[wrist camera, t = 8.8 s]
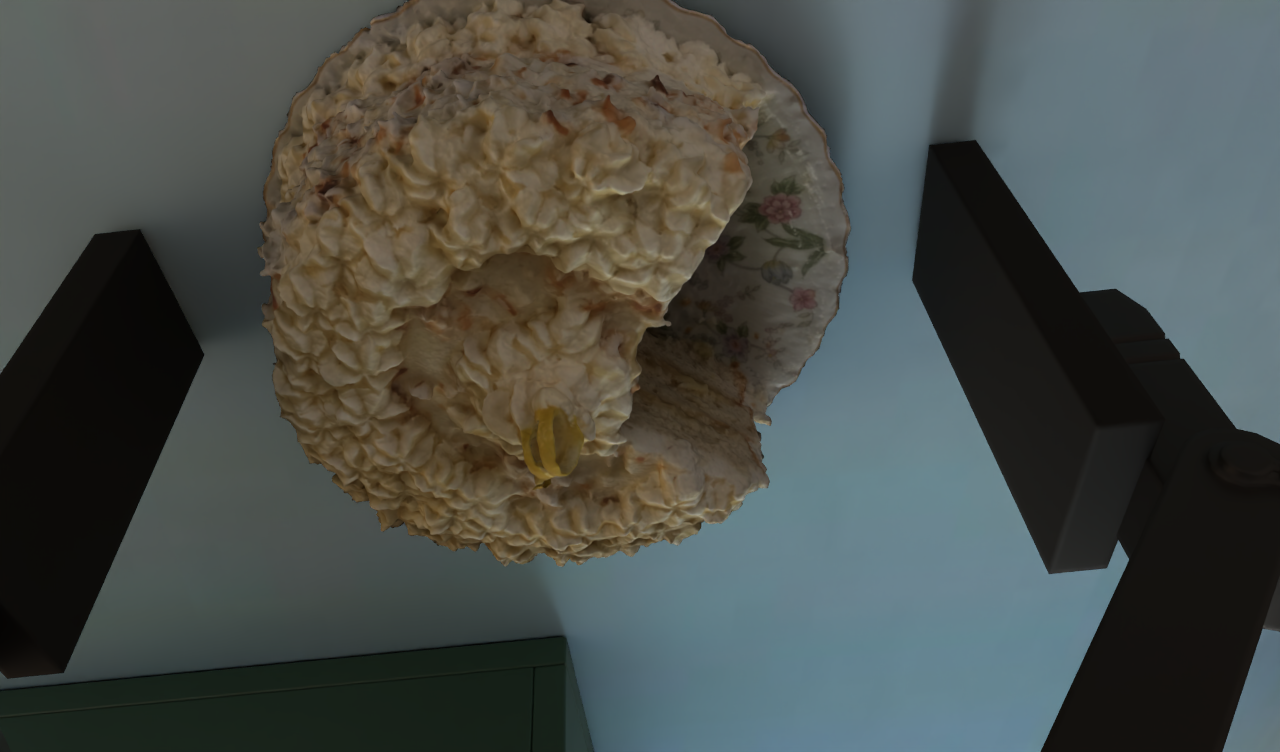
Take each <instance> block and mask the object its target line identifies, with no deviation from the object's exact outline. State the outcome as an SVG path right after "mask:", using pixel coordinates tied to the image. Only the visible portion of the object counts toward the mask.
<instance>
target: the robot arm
mask: <svg viewBox="0 0 1280 752" xmlns="http://www.w3.org/2000/svg"><path fill="white" fill-rule="evenodd" d="M912 281H913V283H914V285H915V287H916V290H917V292H918V294H919V296H920V298H921V300H922V303H923V305H924V307H925V309H926V311H927V313H928V315H929V318H930V320H931V322H932V324H933V326H934V328H935V330H936V333H937V335H938V337H939V339H940V341H941V343H942V345H943V348H944V350H945V352H946V354H947V356H948V358H949V360H950V363H951V365H952V367H953V369H954V371H955V373H956V376H957V378H958V380H959V382H960V384H961V386H962V388H963V391H964V393H965V395H966V397H967V399H968V401H969V403H970V406H971V408H972V410H973V412H974V414H975V416H976V418H977V421H978V423H979V425H980V427H981V429H982V431H983V433H984V436H985V438H986V440H987V442H988V444H989V446H990V449H991V451H992V453H993V455H994V457H995V459H996V461H997V464H998V466H999V468H1000V470H1001V472H1002V474H1003V476H1004V479H1005V481H1006V483H1007V485H1008V487H1009V489H1010V491H1011V494H1012V496H1013V498H1014V500H1015V502H1016V504H1017V506H1018V509H1019V511H1020V513H1021V515H1022V517H1023V519H1024V521H1025V524H1026V526H1027V528H1028V530H1029V532H1030V534H1031V537H1032V539H1033V541H1034V543H1035V545H1036V547H1037V549H1038V552H1039V554H1040V556H1041V558H1042V560H1043V562H1044V564H1045V567H1046V569H1047V571H1048V573H1049V574H1053V573H1063V572H1073V571H1083V570H1093V569H1103V568H1107V567H1108V564H1109V562H1110V559H1111V556H1112V554H1113V551H1114V549H1115V546H1116V544H1117V541H1118V540H1119V541H1120V543H1121V545H1122V547H1123V549H1124V551H1125V552H1126V554H1127V556H1128V558H1129V562H1128V564H1127V566H1126V568H1125V570H1124V572H1123V575H1122V577H1121V579H1120V581H1119V583H1118V585H1117V588H1116V590H1115V592H1114V594H1113V596H1112V598H1111V601H1110V603H1109V605H1108V607H1107V609H1106V611H1105V614H1104V616H1103V618H1102V620H1101V622H1100V624H1099V627H1098V629H1097V631H1096V633H1095V635H1094V637H1093V640H1092V642H1091V644H1090V646H1089V648H1088V650H1087V653H1086V655H1085V657H1084V659H1083V661H1082V663H1081V666H1080V668H1079V670H1078V672H1077V674H1076V676H1075V678H1074V681H1073V683H1072V685H1071V687H1070V689H1069V691H1068V694H1067V696H1066V698H1065V700H1064V702H1063V704H1062V707H1061V709H1060V711H1059V713H1058V715H1057V717H1056V720H1055V722H1054V724H1053V726H1052V728H1051V730H1050V733H1049V735H1048V737H1047V739H1046V741H1045V743H1044V746H1043V748H1042V750H1041V752H1222V751H1223V748H1224V745H1225V742H1226V739H1227V736H1228V733H1229V729H1230V726H1231V723H1232V720H1233V717H1234V714H1235V711H1236V708H1237V705H1238V702H1239V699H1240V696H1241V693H1242V690H1243V687H1244V684H1245V680H1246V677H1247V674H1248V671H1249V668H1250V665H1251V662H1252V659H1253V656H1254V653H1255V650H1256V647H1257V644H1258V641H1259V638H1260V635H1261V631H1262V628H1263V629H1268V630H1274V631H1280V444H1278V443H1276V442H1274V441H1272V440H1270V439H1267V438H1265V437H1263V436H1261V435H1259V434H1257V433H1253V432H1248V431H1244V430H1239V429H1236V427H1235V426H1234V425H1233V423H1232V422H1231V421H1230V419H1229V418H1228V417H1227V416H1226V414H1225V413H1224V412H1223V410H1222V409H1221V408H1220V406H1219V405H1218V404H1217V402H1216V401H1215V400H1214V398H1213V397H1212V396H1211V394H1210V393H1209V392H1208V390H1207V389H1206V388H1205V386H1204V385H1203V384H1202V382H1201V381H1200V380H1199V378H1198V377H1197V376H1196V374H1195V373H1194V372H1193V370H1192V369H1191V368H1190V366H1189V365H1188V364H1187V362H1186V361H1185V360H1184V359H1180V353H1179V352H1178V350H1177V349H1176V348H1175V346H1174V345H1173V344H1172V342H1171V341H1170V340H1169V339H1165V333H1164V332H1163V330H1162V329H1161V328H1160V326H1159V325H1158V324H1157V322H1156V321H1155V320H1154V318H1153V317H1152V316H1151V314H1150V313H1149V312H1148V310H1147V309H1146V308H1144V307H1143V306H1141V305H1139V304H1138V303H1136V302H1135V301H1133V300H1132V299H1130V298H1129V297H1127V296H1126V295H1124V294H1123V293H1121V292H1120V291H1118V290H1117V289H1109V290H1099V291H1090V292H1080V293H1079V291H1078V290H1077V288H1076V287H1075V285H1074V284H1073V283H1072V281H1071V280H1070V278H1069V277H1068V275H1067V274H1066V272H1065V271H1064V269H1063V268H1062V266H1061V265H1060V263H1059V262H1058V260H1057V259H1056V258H1055V256H1054V255H1053V253H1052V252H1051V250H1050V249H1049V247H1048V246H1047V244H1046V243H1045V241H1044V240H1043V238H1042V237H1041V235H1040V234H1039V233H1038V231H1037V230H1036V228H1035V227H1034V225H1033V224H1032V222H1031V221H1030V219H1029V218H1028V216H1027V215H1026V213H1025V212H1024V210H1023V209H1022V208H1021V206H1020V205H1019V203H1018V202H1017V200H1016V199H1015V197H1014V196H1013V194H1012V193H1011V191H1010V190H1009V188H1008V187H1007V185H1006V184H1005V183H1004V181H1003V180H1002V178H1001V177H1000V175H999V174H998V172H997V171H996V169H995V168H994V166H993V165H992V163H991V162H990V160H989V159H988V158H987V156H986V155H985V153H984V152H983V150H982V149H981V147H980V146H979V144H978V143H977V141H976V140H974V141H964V142H955V143H945V144H936V145H929V153H928V161H927V168H926V176H925V184H924V192H923V200H922V207H921V215H920V223H919V231H918V239H917V247H916V254H915V262H914V270H913V278H912ZM203 357H204V353H203V351H202V349H201V347H200V345H199V343H198V341H197V339H196V337H195V335H194V333H193V331H192V329H191V327H190V325H189V323H188V321H187V320H186V318H185V316H184V314H183V312H182V310H181V308H180V306H179V304H178V302H177V300H176V298H175V296H174V294H173V292H172V290H171V288H170V286H169V284H168V283H167V281H166V279H165V277H164V275H163V273H162V271H161V269H160V267H159V265H158V263H157V261H156V259H155V257H154V255H153V253H152V251H151V249H150V247H149V246H148V244H147V242H146V240H145V238H144V236H143V234H142V232H141V230H140V229H139V230H130V231H120V232H111V233H101V234H95V235H94V236H93V238H92V239H91V241H90V242H89V244H88V245H87V247H86V248H85V250H84V251H83V253H82V254H81V256H80V257H79V259H78V260H77V262H76V263H75V264H74V266H73V267H72V269H71V270H70V272H69V273H68V275H67V276H66V278H65V279H64V281H63V282H62V284H61V285H60V287H59V288H58V290H57V291H56V293H55V294H54V296H53V297H52V299H51V300H50V301H49V303H48V304H47V306H46V307H45V309H44V310H43V312H42V313H41V315H40V316H39V318H38V319H37V321H36V322H35V324H34V325H33V327H32V328H31V330H30V331H29V333H28V334H27V336H26V337H25V338H24V340H23V341H22V343H21V344H20V346H19V347H18V349H17V350H16V352H15V353H14V355H13V356H12V358H11V359H10V361H9V362H8V364H7V365H6V367H5V368H4V370H3V371H2V372H1V374H0V672H1V673H2V674H3V675H4V676H5V677H6V678H7V679H9V678H19V677H29V676H38V675H48V674H58V673H64V671H65V669H66V667H67V664H68V662H69V660H70V658H71V655H72V653H73V651H74V649H75V646H76V644H77V642H78V639H79V637H80V635H81V633H82V630H83V628H84V626H85V624H86V621H87V619H88V617H89V615H90V612H91V610H92V608H93V606H94V603H95V601H96V599H97V596H98V594H99V592H100V590H101V587H102V585H103V583H104V581H105V578H106V576H107V574H108V572H109V569H110V567H111V565H112V563H113V560H114V558H115V556H116V554H117V551H118V549H119V547H120V544H121V542H122V540H123V538H124V535H125V533H126V531H127V529H128V526H129V524H130V522H131V520H132V517H133V515H134V513H135V511H136V508H137V506H138V504H139V502H140V499H141V497H142V495H143V492H144V490H145V488H146V486H147V483H148V481H149V479H150V477H151V474H152V472H153V470H154V468H155V465H156V463H157V461H158V459H159V456H160V454H161V452H162V449H163V447H164V445H165V443H166V440H167V438H168V436H169V434H170V431H171V429H172V427H173V425H174V422H175V420H176V418H177V416H178V413H179V411H180V409H181V407H182V404H183V402H184V400H185V397H186V395H187V393H188V391H189V388H190V386H191V384H192V382H193V379H194V377H195V375H196V373H197V370H198V368H199V366H200V364H201V361H202V359H203ZM0 752H11V750H10V748H9V746H8V744H7V742H6V740H5V737H4V735H3V733H2V731H1V729H0Z"/></svg>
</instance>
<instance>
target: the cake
mask: <svg viewBox="0 0 1280 752" xmlns="http://www.w3.org/2000/svg"><path fill="white" fill-rule="evenodd" d="M370 24H371V29H368V28H366V27H365V28H363V29H362V28H361V30H360V31H359V32H358V33H356V34H355V37H354V38H352V41H349V42H348V44H347V46H346V47H345V45H344V46H342V48H341V50H340V52H339V54H338V53H336V52H334V53H333V54H331V56H330V57H329V58H326V59H325V62H324V64H323V65H322V66H321V67H318V72H317V74H316V75H315V77H314V80H313V81H312V82H311V84H310V85H309V86H308V87H307V89H305V90H303V91H301V92H297V93H296V95H295V96H294V97H293V98H292V104H291V107H290V110H289V112H288V114H287V117H288V122H287V123H286V125H285V128H284V130H280V131H279V135H278V138H276V140H275V143H274V144H275V145H274V147H273V150H272V155H273V159H272V161H271V163H272V165H271V171H270V174H269V176H268V177H267V180H266V183H265V185H264V190H263V199H264V201H265V205H266V208H267V217H266V219H267V220H266V221H265V222H260V224H259V225H260V228H261V230H262V233H263V240H264V242H265V243H264V244H263V246H262V247H257V249H258V254H259V256H260V257H261V258H264V260H265V262H266V264H265V269H264V270H262V271H261V272H260V275H261V276H267V275H270V276H271V287H270V291H271V295H270V297H269V302H268V303H267V304H266V303H263V304H262V312H263V314H264V315H265V318H264V320H263V322H262V326H263V327H265V328H267V330H268V332H270V333H271V335H272V338H273V344H274V353H275V355H276V360H277V363H273V364H274V365H275V368H274V370H273V375H272V377H273V383H274V388H275V394H276V397H277V400H278V402H279V406H280V407H281V415H280V417H282V418H284V419H286V420H288V421H289V422H290V423H291V424H292V426H293V427H294V428H295V429H296V432H297V439H298V442H300V444H301V445H302V447H303V450H304V452H305V454H306V456H307V457H308V460H309V463H310V464H312V463H316V464H322V465H323V466H324V467H325V468H326V469H327V470H328V471H331V472H335V473H336V474H335V475H334V476H333V477H332V482H333V483H335V484H336V485H337V486H338V487H340V488H341V489H343V490H344V493H348V494H349V495H350V496H352V500H354V501H356V502H362V501H369V503H370V507H372V508H373V509H375V510H376V511H378V512H377V514H376V515H377V516H378V518H379V519H378V520H379V522H380V523H381V531H382V532H383V531H385V530H387V529H388V528H389V527H392V528H394V527H399V526H401V525H402V524H404V522H405V525H406V526H407V528H408V534H409V535H410V536H414V535H418V536H426V537H428V538H429V539H431V540H432V541H433V542H434V543H436V544H437V546H439V545H441V546H447V547H448V548H449V549H450V550H452V551H456V550H457V549H458V548H459V549H464V548H465V547H469V548H471V549H472V550H473V551H475V552H476V551H477V550H478V549H479V546H480V544H481V543H485V545H486V546H487V547H488V549H489V550H490V551H491V552H492V553H493V555H494V556H495V558H496V559H497V560H498V561H500V562H501V563H502V564H503V565H504V566H507V565H508V564H509V563H510V562H511V561H515V563H520V564H525V563H527V562H530V561H532V560H533V559H534V557H535V556H537V555H538V553H545V554H546V555H547V556H549V557H552V558H553V560H555V561H556V564H557V566H561V567H563V566H564V565H565V563H566V562H567V561H568V560H569V559H571V561H572V562H576V563H577V565H581V564H583V563H584V562H586V561H587V560H588V559H590V558H592V557H596V558H601V557H605V558H606V557H608V556H611V555H614V554H615V553H616V552H618V551H622V552H624V553H625V554H626V555H628V556H630V557H633V556H634V555H635V553H636V552H638V550H639V547H640V545H644V546H645V547H648V546H649V545H650V544H651V543H656V542H658V541H662V540H667V541H668V542H669V543H670V544H672V543H673V544H675V545H677V546H678V545H680V543H681V542H682V539H684V538H687V537H689V536H691V535H693V534H698V531H699V530H700V529H701V522H703V521H705V522H706V523H710V524H715V523H720V524H721V523H723V521H725V520H726V519H727V518H728V516H729V515H730V514H731V512H732V511H735V510H738V509H739V508H740V507H741V506H742V504H743V503H742V501H743V500H744V498H745V496H746V495H747V494H748V493H751V492H755V491H757V490H758V488H768V486H769V483H770V481H769V478H768V476H767V474H766V473H765V472H766V471H767V468H766V467H765V465H764V464H763V463H762V459H763V458H764V455H763V454H762V452H761V443H760V441H761V433H760V432H758V431H757V430H756V426H755V424H754V421H755V422H758V423H761V424H767V425H769V426H770V425H771V422H772V421H771V418H770V417H769V416H767V415H766V414H765V412H766V409H767V407H768V406H769V405H770V404H771V403H772V401H773V399H774V397H775V396H776V395H777V394H778V393H779V391H780V390H781V389H782V388H785V387H788V386H790V385H791V384H792V383H794V382H795V381H796V380H797V378H798V376H799V374H800V372H801V369H802V368H803V367H804V366H805V363H806V361H807V359H808V358H810V357H811V356H813V355H814V353H815V352H816V351H817V350H818V349H819V347H820V344H821V342H822V338H823V336H824V334H825V330H826V327H827V325H828V324H829V323H830V322H831V321H832V319H833V318H834V317H835V316H836V314H837V310H838V309H839V296H838V295H839V293H841V286H842V281H843V279H844V278H845V277H846V276H847V273H848V257H847V256H846V254H847V250H846V248H845V245H846V243H847V240H848V236H849V234H850V231H851V226H850V220H849V217H848V212H847V210H846V208H845V206H844V204H843V202H844V201H843V199H842V193H843V191H844V184H843V183H842V178H841V173H840V170H839V169H838V168H837V167H836V165H835V163H834V162H833V161H832V159H831V158H830V152H829V151H830V147H828V146H827V142H826V138H827V135H826V134H825V131H824V128H822V127H821V126H820V125H819V124H818V122H817V121H815V120H814V118H813V117H812V116H811V115H810V114H809V112H808V111H807V107H806V104H805V103H804V99H803V97H802V96H801V94H800V93H799V91H798V90H797V89H796V88H795V87H794V86H793V85H792V83H791V82H790V81H789V80H786V79H785V78H781V76H780V75H779V73H776V72H775V71H774V70H773V69H772V68H771V67H770V66H769V65H768V63H767V59H766V58H765V57H764V56H763V55H760V52H759V51H758V50H757V49H756V48H755V47H754V46H752V45H751V44H750V43H749V44H745V43H743V42H742V41H741V40H735V39H733V38H731V37H730V36H729V35H727V34H726V29H725V28H724V27H723V26H721V25H720V24H719V23H718V22H717V21H716V19H715V18H714V17H713V16H712V15H706V14H702V13H700V12H696V11H694V10H691V11H690V10H688V9H685V8H682V7H680V6H679V5H678V4H676V3H675V2H674V1H672V0H409V2H404V5H403V6H398V7H397V10H396V12H394V13H387V14H384V15H378V16H377V17H374V18H373V19H372V21H371V23H370Z"/></svg>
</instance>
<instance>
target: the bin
mask: <svg viewBox="0 0 1280 752" xmlns="http://www.w3.org/2000/svg"><path fill="white" fill-rule="evenodd" d="M0 729H1V731H2V733H3V735H4V737H5V740H6V742H7V744H8V746H9V748H10V750H11V752H594V750H593V746H592V742H591V738H590V733H589V729H588V725H587V721H586V717H585V713H584V709H583V705H582V700H581V696H580V692H579V688H578V684H577V680H576V676H575V672H574V668H573V663H572V659H571V655H570V651H569V647H568V643H567V639H566V637H556V638H545V639H535V640H525V641H514V642H504V643H493V644H483V645H473V646H462V647H452V648H442V649H431V650H421V651H410V652H400V653H390V654H379V655H369V656H359V657H348V658H338V659H327V660H317V661H307V662H296V663H286V664H276V665H265V666H255V667H245V668H234V669H224V670H213V671H203V672H193V673H182V674H172V675H162V676H151V677H141V678H130V679H120V680H110V681H99V682H89V683H79V684H68V685H58V686H47V687H37V688H27V689H16V690H6V691H0Z"/></svg>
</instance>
